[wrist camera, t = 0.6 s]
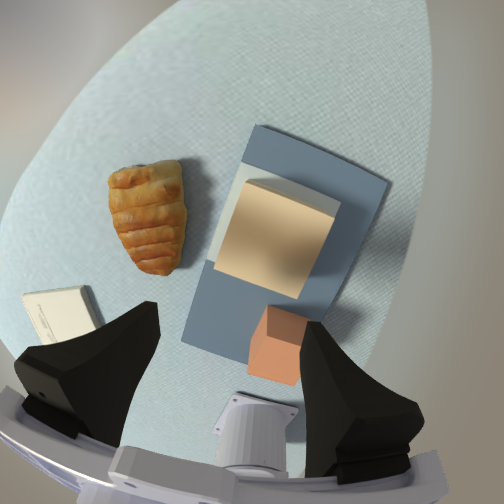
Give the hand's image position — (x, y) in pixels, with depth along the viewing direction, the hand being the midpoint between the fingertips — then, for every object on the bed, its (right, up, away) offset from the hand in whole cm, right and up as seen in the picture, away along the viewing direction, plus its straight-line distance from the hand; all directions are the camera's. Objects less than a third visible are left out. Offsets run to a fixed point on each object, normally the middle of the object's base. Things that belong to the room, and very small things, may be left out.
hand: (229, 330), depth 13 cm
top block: (+4, -3, +11) cm, 12 cm away
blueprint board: (+3, +2, +10) cm, 11 cm away
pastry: (-7, +7, +10) cm, 14 cm away
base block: (+3, +5, +8) cm, 10 cm away
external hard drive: (-22, -4, +15) cm, 27 cm away
